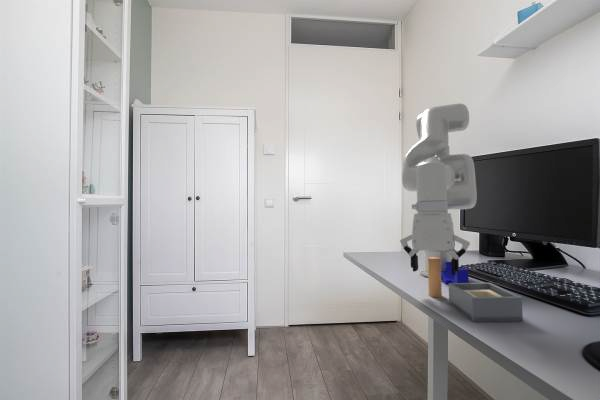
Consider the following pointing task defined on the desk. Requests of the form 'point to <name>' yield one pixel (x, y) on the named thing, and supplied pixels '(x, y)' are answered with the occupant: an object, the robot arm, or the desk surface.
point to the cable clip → (459, 277)
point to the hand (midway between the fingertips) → (434, 272)
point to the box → (485, 302)
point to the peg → (434, 277)
